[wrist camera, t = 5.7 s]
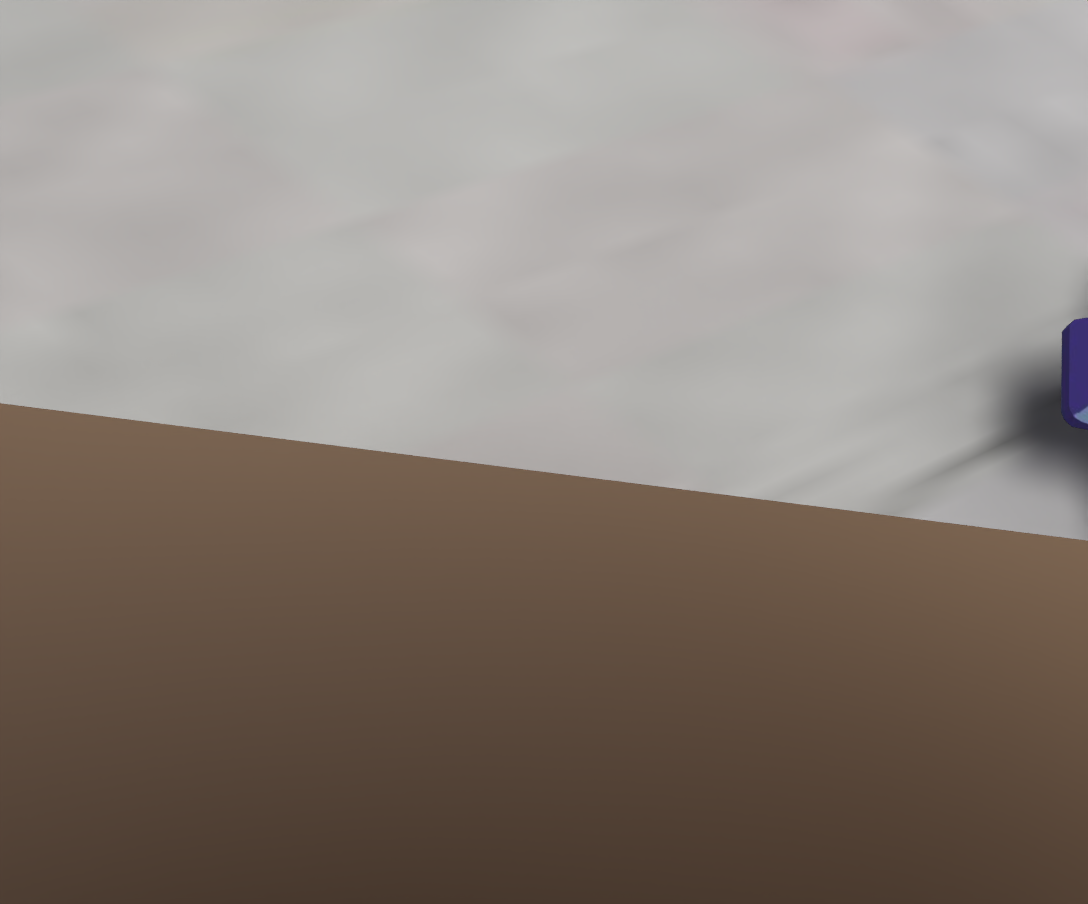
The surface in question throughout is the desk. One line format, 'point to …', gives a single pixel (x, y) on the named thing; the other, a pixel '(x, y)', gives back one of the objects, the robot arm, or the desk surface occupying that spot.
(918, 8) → the desk surface
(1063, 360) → the toy airplane
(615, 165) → the desk surface
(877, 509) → the desk surface
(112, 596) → the block
